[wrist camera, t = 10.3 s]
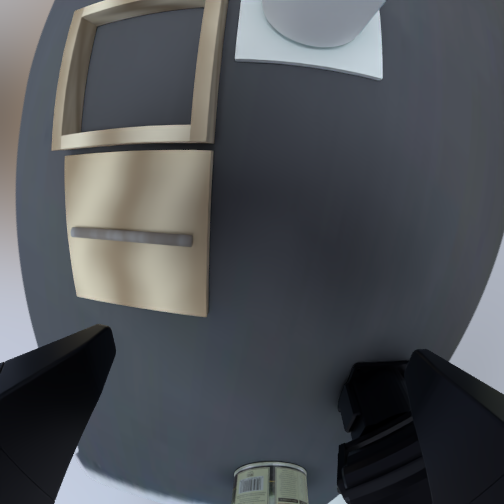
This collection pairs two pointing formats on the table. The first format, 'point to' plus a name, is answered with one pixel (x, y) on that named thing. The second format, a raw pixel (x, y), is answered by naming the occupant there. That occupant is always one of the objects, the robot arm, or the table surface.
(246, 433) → the table surface
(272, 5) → the can
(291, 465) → the coffee can
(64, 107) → the beige slotted open frame
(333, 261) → the table surface
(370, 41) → the mat
